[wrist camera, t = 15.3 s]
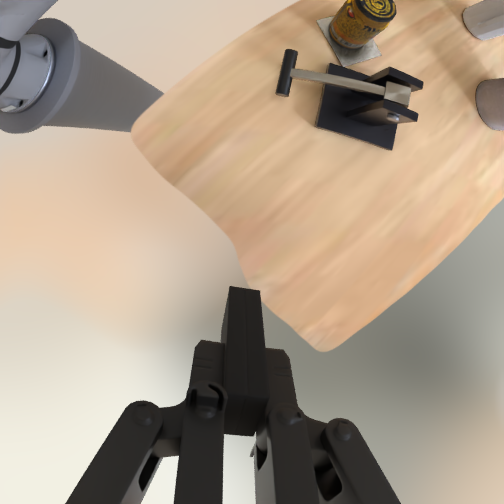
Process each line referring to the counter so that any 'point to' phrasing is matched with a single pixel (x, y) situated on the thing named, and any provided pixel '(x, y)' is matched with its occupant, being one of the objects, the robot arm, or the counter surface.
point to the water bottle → (485, 19)
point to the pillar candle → (491, 102)
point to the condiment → (357, 29)
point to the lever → (337, 82)
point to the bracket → (365, 107)
